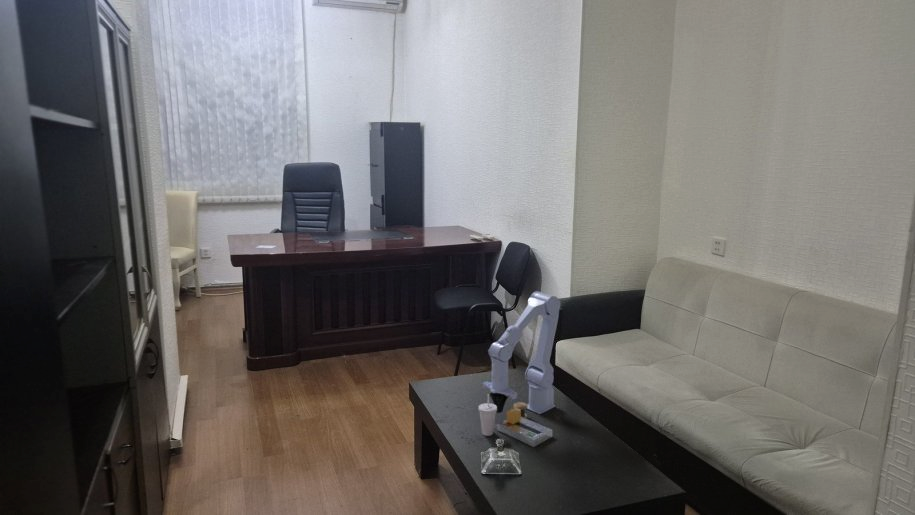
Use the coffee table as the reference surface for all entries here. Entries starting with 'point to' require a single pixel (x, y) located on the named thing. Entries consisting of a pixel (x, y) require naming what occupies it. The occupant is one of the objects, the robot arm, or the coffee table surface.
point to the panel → (526, 431)
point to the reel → (521, 408)
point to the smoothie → (487, 417)
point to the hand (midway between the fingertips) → (499, 411)
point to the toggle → (513, 415)
